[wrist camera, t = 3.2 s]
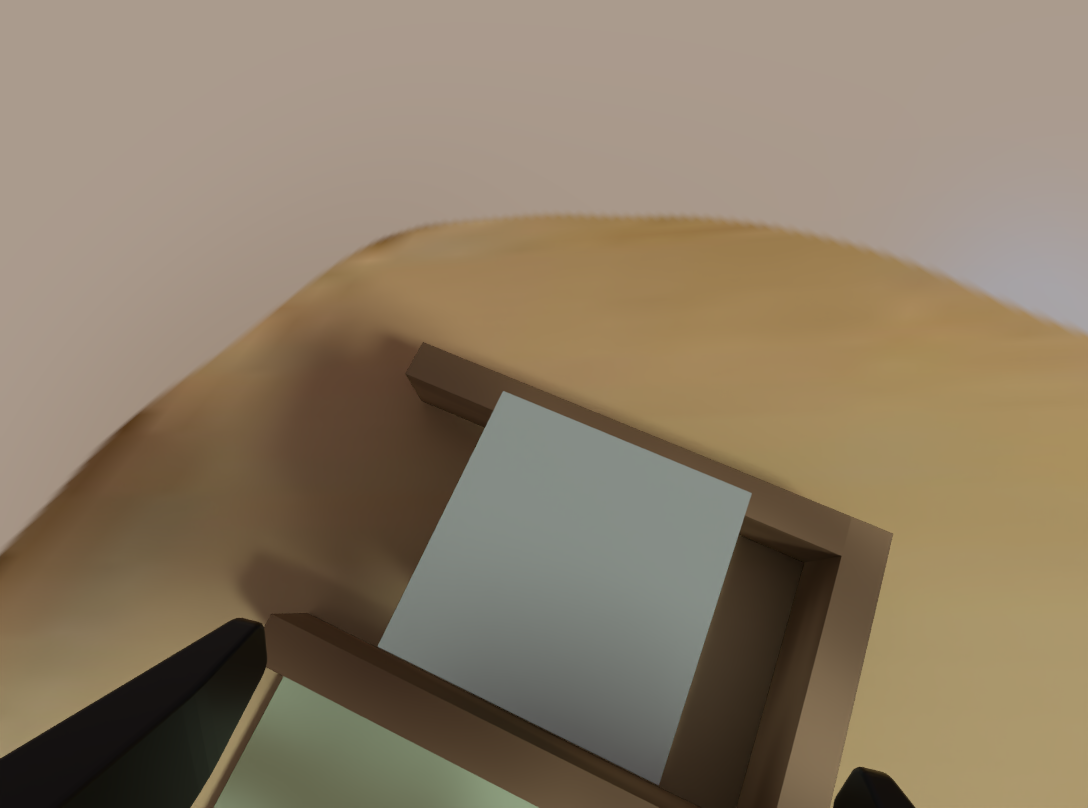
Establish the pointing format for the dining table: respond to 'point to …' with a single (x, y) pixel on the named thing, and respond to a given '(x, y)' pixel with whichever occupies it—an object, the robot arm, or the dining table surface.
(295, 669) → the comb rack
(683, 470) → the tall grey square prism
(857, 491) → the dining table surface
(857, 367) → the dining table surface
